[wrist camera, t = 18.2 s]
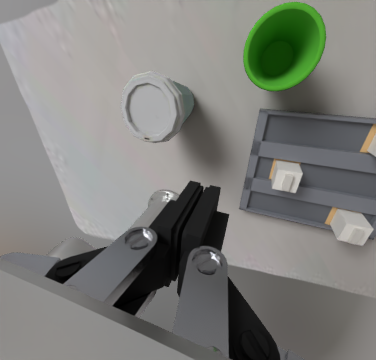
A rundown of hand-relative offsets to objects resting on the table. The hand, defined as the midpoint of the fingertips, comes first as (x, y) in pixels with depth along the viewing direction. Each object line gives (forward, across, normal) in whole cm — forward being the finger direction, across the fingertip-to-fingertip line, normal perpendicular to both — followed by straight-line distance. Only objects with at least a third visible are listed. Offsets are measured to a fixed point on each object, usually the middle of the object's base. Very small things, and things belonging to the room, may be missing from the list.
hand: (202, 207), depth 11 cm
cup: (+32, -3, -10) cm, 34 cm away
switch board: (+32, -16, +8) cm, 37 cm away
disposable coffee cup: (+33, +13, -2) cm, 36 cm away
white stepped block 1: (+31, -10, +8) cm, 34 cm away
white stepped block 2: (+31, -24, +16) cm, 42 cm away
